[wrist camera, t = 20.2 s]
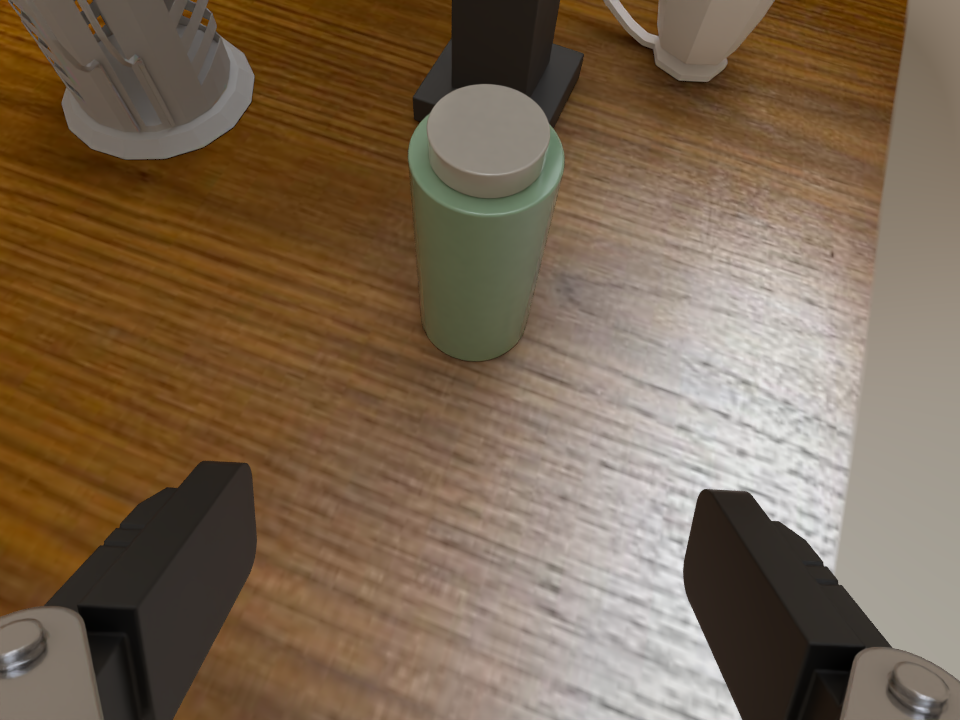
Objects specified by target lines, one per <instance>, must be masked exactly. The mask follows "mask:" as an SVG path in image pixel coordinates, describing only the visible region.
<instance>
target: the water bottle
mask: <svg viewBox="0 0 960 720" xmlns="http://www.w3.org/2000/svg"><path fill="white" fill-rule="evenodd" d="M408 166H409V178H410V190H411V202H412V214H413V227H414V239H415V251H416V263H417V275H418V287H419V299H420V311H421V320H422V325H423V328H424V331H425V333H426V335H427V336H428V338H429V339H430V341H431V342H432V343H433V344H434V345H435V346H436V347H437V348H439V349H440V350H441V351H443V352H444V353H446V354H448V355H450V356H452V357H454V358H457V359H461V360H466V361H484V360H489V359H493V358H496V357H498V356H500V355H502V354H504V353H506V352H507V351H509V350H510V349H511V348H513V347H514V345H515V344H516V343H517V342H518V341H519V340H520V338H521V336H522V335H523V333H524V330H525V327H526V323H527V319H528V315H529V311H530V307H531V303H532V299H533V295H534V291H535V287H536V282H537V278H538V274H539V270H540V266H541V262H542V258H543V254H544V250H545V246H546V242H547V237H548V233H549V229H550V225H551V221H552V217H553V213H554V209H555V205H556V201H557V197H558V192H559V188H560V184H561V180H562V176H563V172H564V166H565V156H564V150H563V147H562V144H561V141H560V139H559V137H558V135H557V133H556V132H555V130H554V129H553V128H552V126H551V125H550V124H549V123H548V119H547V117H546V115H545V113H544V112H543V110H542V109H541V107H540V106H539V105H538V104H537V103H536V102H535V101H533V100H532V99H531V98H530V97H528V96H527V95H525V94H523V93H521V92H519V91H517V90H515V89H512V88H509V87H506V86H501V85H495V84H476V85H470V86H465V87H462V88H459V89H456V90H454V91H452V92H450V93H449V94H447V95H445V96H444V97H443V98H441V99H440V100H439V101H438V102H437V103H436V105H435V106H434V107H433V109H432V111H431V113H430V114H429V115H427V116H426V117H425V118H424V119H423V120H422V121H421V122H420V124H419V125H418V126H417V128H416V129H415V131H414V133H413V135H412V137H411V140H410V143H409V148H408Z"/></svg>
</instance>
